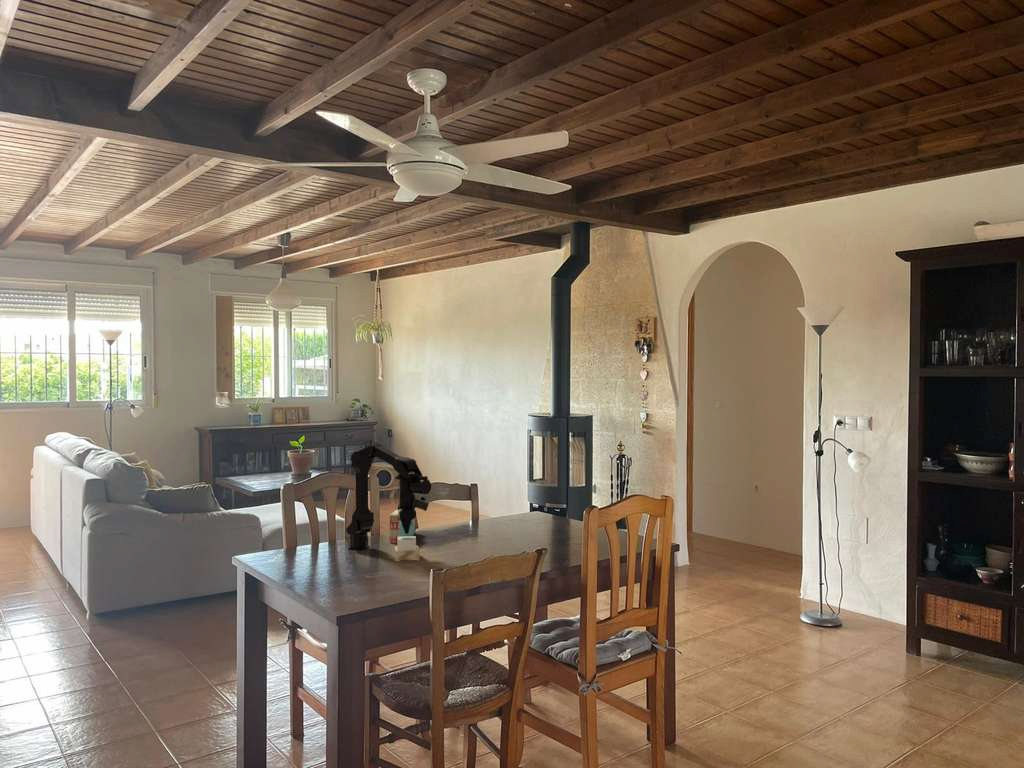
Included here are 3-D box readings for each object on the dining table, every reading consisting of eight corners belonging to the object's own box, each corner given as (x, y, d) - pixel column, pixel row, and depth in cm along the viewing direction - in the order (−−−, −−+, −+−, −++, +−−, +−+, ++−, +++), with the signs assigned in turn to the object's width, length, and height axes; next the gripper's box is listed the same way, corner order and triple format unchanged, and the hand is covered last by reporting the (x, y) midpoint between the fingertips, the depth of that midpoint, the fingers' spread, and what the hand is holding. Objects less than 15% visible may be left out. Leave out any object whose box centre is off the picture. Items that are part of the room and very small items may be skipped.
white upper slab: (397, 550, 298) (397, 540, 298) (397, 546, 305) (397, 536, 305) (415, 550, 299) (415, 540, 299) (415, 546, 306) (415, 536, 306)
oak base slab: (395, 562, 297) (395, 551, 297) (394, 556, 306) (394, 546, 306) (419, 561, 299) (419, 550, 299) (417, 555, 308) (418, 545, 308)
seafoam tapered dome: (396, 535, 300) (396, 522, 300) (402, 532, 306) (402, 520, 306) (410, 536, 299) (410, 523, 299) (415, 533, 304) (415, 521, 304)
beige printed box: (400, 533, 349) (401, 505, 349) (414, 533, 349) (414, 506, 348) (389, 543, 328) (389, 514, 328) (404, 544, 327) (404, 514, 327)
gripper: (429, 495, 294) (429, 536, 295) (425, 487, 313) (425, 526, 313) (399, 495, 292) (399, 537, 293) (397, 488, 311) (397, 527, 311)
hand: (406, 532), depth 302 cm, fingers closed on seafoam tapered dome, 5 cm apart
